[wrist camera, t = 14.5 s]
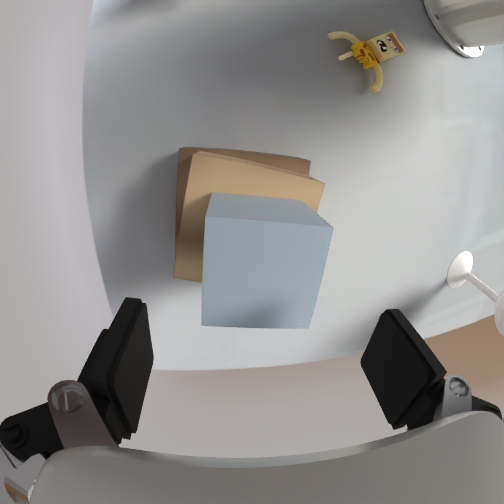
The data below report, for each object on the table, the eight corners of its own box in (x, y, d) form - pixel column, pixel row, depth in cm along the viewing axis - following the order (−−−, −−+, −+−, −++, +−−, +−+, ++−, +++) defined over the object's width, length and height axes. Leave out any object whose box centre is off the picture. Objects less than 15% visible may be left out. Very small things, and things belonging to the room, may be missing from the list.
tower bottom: (188, 146, 25) (179, 148, 21) (296, 157, 27) (310, 160, 22) (183, 248, 29) (175, 269, 25) (281, 255, 31) (291, 276, 26)
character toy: (329, 29, 18) (382, 12, 17) (318, 39, 21) (369, 21, 20) (374, 97, 21) (421, 73, 20) (359, 100, 24) (405, 76, 23)
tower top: (200, 151, 21) (193, 154, 16) (305, 174, 22) (324, 183, 18) (183, 251, 24) (173, 277, 20) (278, 267, 26) (289, 296, 21)
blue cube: (212, 192, 17) (205, 216, 12) (301, 200, 18) (333, 227, 13) (207, 274, 20) (201, 325, 14) (287, 278, 20) (308, 328, 15)
